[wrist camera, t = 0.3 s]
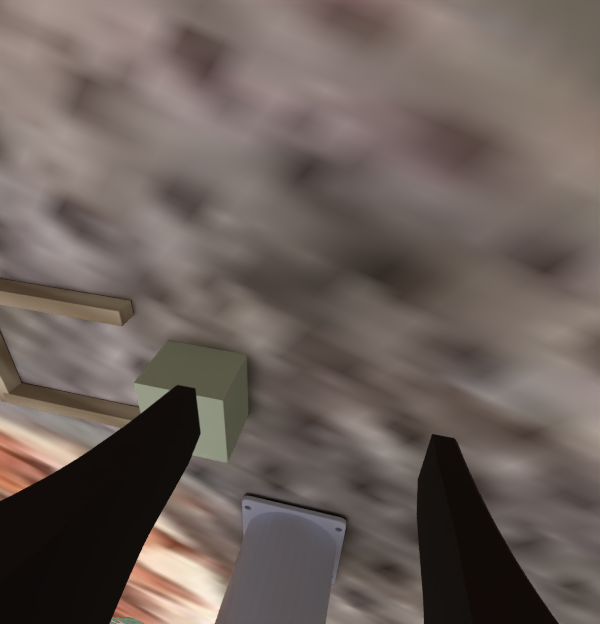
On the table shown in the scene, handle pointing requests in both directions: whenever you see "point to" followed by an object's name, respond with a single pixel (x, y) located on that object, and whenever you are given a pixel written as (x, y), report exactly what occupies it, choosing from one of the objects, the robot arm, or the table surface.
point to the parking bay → (3, 376)
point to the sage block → (202, 391)
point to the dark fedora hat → (135, 622)
